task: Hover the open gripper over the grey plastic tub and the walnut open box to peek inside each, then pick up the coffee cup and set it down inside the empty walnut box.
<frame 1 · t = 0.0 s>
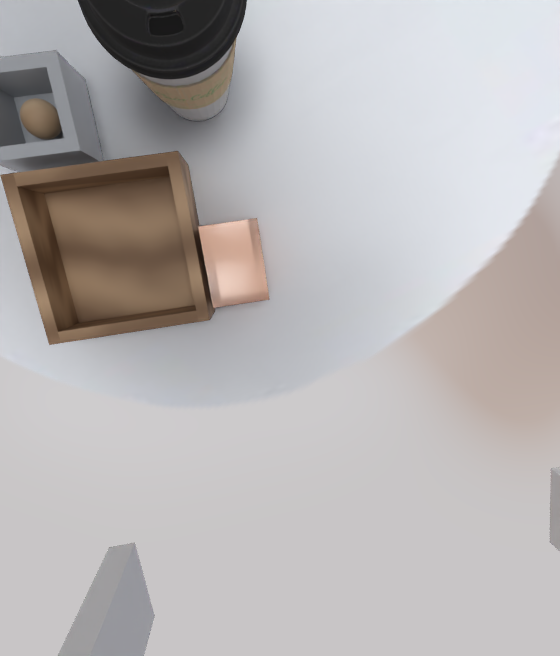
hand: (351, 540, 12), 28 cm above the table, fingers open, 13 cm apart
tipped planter: (236, 262, 37), on the table
coffee cup: (196, 85, 34), on the table
cork ball: (51, 125, 33), point 1 cm above the table, touching grey tub
grey tub: (55, 128, 33), on the table
walnut box: (130, 251, 36), on the table
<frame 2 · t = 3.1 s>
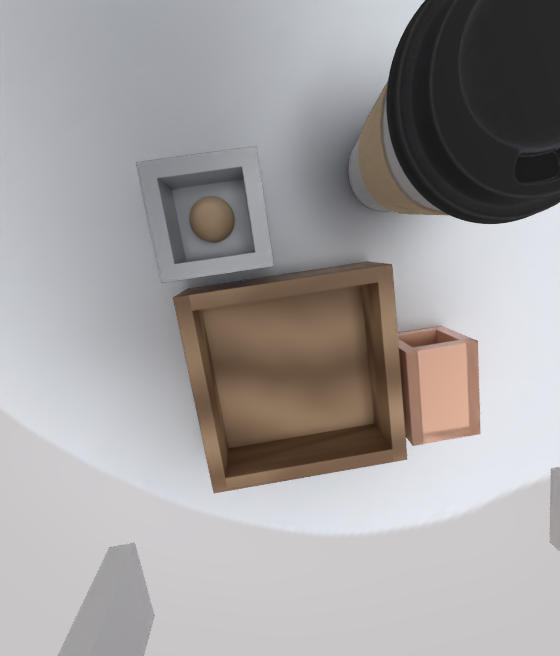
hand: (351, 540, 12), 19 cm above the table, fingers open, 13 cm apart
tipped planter: (414, 371, 31), on the table
coffee cup: (385, 169, 28), on the table
cork ball: (214, 221, 26), point 1 cm above the table, touching grey tub
grey tub: (215, 222, 27), on the table
walnut box: (290, 362, 30), on the table
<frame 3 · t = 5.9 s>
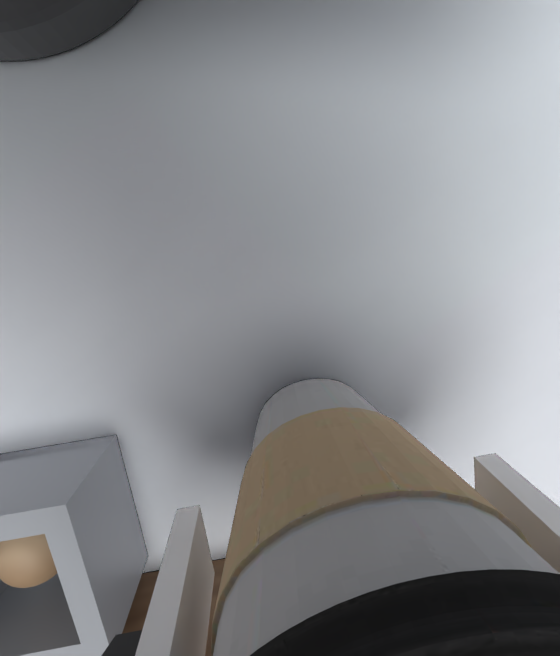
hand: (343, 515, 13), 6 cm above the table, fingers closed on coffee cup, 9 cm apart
coffee cup: (313, 428, 19), on the table, touching gripper
cork ball: (53, 521, 18), point 1 cm above the table, touching grey tub
grey tub: (62, 510, 19), on the table
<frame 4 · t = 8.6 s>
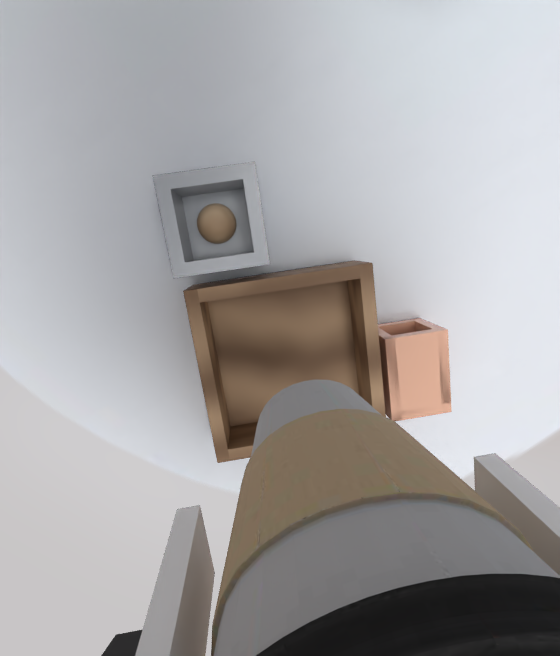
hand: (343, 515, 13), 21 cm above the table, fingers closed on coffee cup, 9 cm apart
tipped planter: (395, 358, 35), on the table
coffee cup: (313, 429, 19), point 15 cm above the table, touching gripper
cork ball: (218, 225, 30), point 1 cm above the table, touching grey tub
grey tub: (219, 225, 31), on the table
walnut box: (285, 349, 34), on the table
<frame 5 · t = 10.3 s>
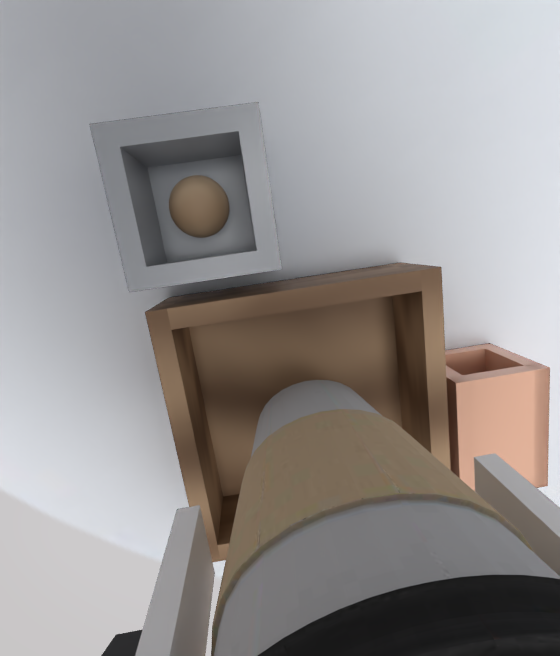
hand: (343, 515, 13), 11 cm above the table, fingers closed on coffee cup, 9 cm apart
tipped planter: (454, 399, 25), on the table
coffee cup: (313, 429, 19), point 5 cm above the table, touching gripper
cork ball: (203, 210, 20), point 1 cm above the table, touching grey tub
grey tub: (205, 211, 21), on the table
walnut box: (301, 388, 24), on the table
when the fingers open (8 cm above the table, at t = 11.6 s): coffee cup stays where it is, resting on walnut box.
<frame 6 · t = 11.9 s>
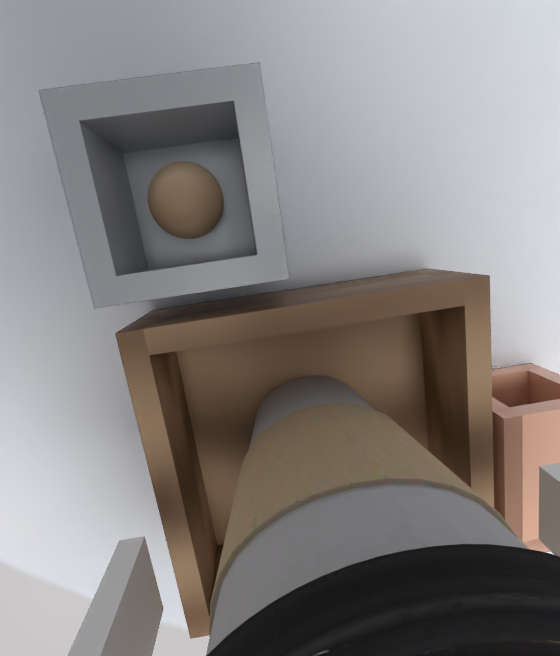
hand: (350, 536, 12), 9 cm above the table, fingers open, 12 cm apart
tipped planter: (488, 428, 21), on the table
coffee cup: (310, 424, 19), point 1 cm above the table, touching walnut box
cork ball: (192, 205, 17), point 1 cm above the table, touching grey tub
grey tub: (194, 207, 17), on the table
walnut box: (309, 417, 20), on the table
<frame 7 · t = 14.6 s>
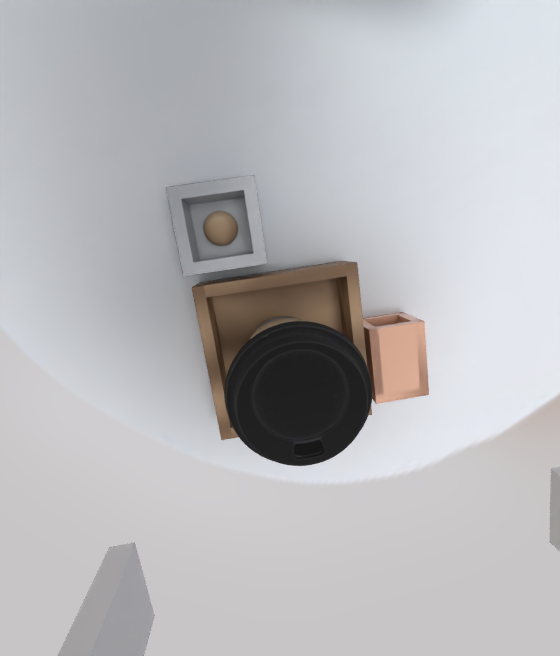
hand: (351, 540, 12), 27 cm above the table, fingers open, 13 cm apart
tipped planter: (381, 348, 39), on the table
coffee cup: (282, 343, 37), point 1 cm above the table, touching walnut box
cork ball: (222, 229, 34), point 1 cm above the table, touching grey tub
grey tub: (222, 229, 35), on the table
walnut box: (282, 340, 38), on the table
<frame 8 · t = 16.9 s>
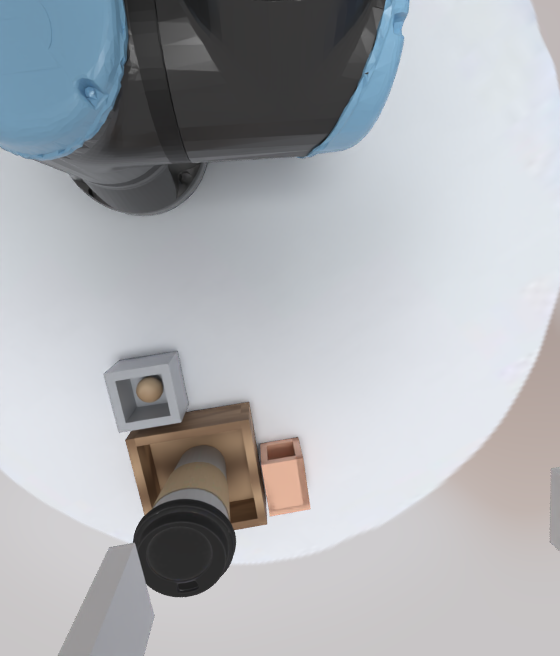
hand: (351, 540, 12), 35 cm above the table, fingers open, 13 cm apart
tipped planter: (282, 464, 50), on the table
coffee cup: (203, 463, 48), point 1 cm above the table, touching walnut box
cork ball: (153, 385, 45), point 1 cm above the table, touching grey tub
grey tub: (154, 382, 46), on the table
walnut box: (204, 460, 49), on the table
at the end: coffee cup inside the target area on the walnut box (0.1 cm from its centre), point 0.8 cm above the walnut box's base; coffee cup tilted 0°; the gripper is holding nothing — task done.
